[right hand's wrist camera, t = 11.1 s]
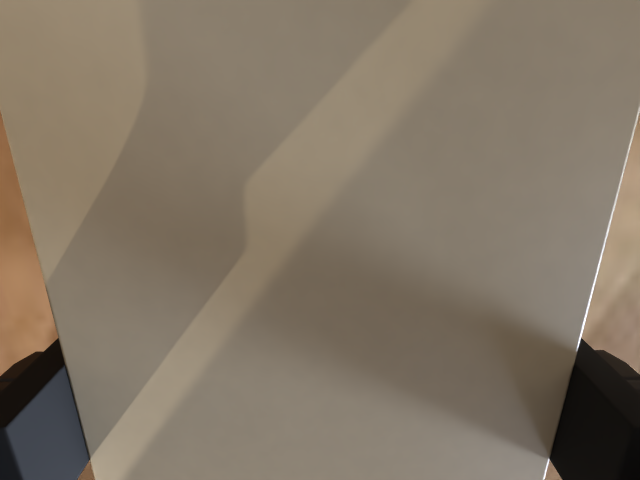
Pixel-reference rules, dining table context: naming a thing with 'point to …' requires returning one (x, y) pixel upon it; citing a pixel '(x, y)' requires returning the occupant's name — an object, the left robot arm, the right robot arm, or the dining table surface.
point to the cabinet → (319, 224)
